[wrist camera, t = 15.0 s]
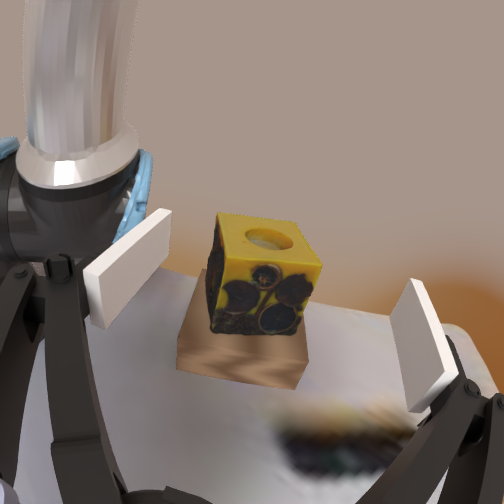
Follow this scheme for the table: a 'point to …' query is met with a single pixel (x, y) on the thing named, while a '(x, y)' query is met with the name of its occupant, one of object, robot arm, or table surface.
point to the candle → (258, 276)
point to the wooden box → (238, 350)
